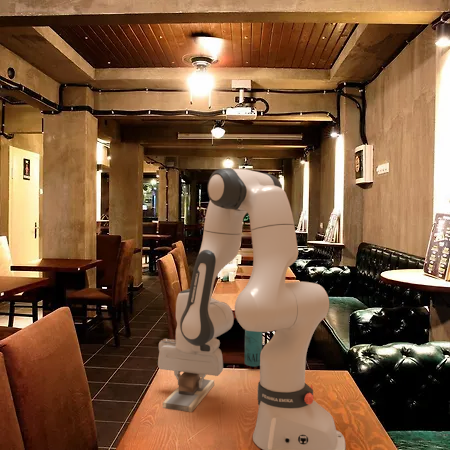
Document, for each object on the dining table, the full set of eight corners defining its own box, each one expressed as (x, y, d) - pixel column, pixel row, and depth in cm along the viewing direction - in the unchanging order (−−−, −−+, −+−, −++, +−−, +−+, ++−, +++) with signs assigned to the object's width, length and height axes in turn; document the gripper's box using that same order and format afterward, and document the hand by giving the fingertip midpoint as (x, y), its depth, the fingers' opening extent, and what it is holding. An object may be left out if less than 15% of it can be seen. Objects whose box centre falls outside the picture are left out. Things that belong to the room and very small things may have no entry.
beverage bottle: (251, 362, 165) (251, 309, 164) (266, 367, 161) (266, 312, 160) (240, 367, 160) (240, 312, 159) (255, 372, 156) (256, 315, 155)
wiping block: (200, 386, 140) (200, 370, 139) (192, 395, 133) (192, 379, 133) (186, 384, 141) (186, 369, 141) (178, 393, 134) (178, 377, 134)
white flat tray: (214, 384, 145) (214, 380, 145) (191, 412, 126) (192, 406, 126) (188, 381, 147) (188, 376, 147) (162, 407, 128) (162, 402, 128)
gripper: (154, 341, 136) (154, 385, 137) (218, 347, 131) (218, 394, 131) (163, 335, 142) (162, 378, 143) (224, 341, 137) (224, 385, 137)
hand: (190, 385), depth 137 cm, fingers closed on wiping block, 4 cm apart
